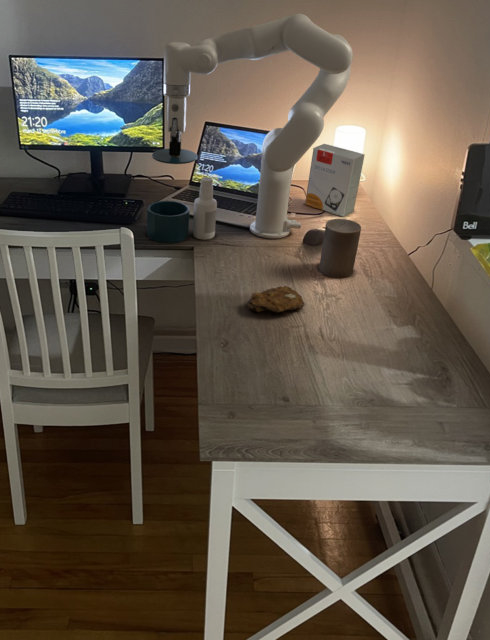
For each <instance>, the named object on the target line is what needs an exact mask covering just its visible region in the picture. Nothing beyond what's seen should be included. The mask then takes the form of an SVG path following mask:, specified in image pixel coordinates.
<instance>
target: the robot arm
mask: <svg viewBox="0 0 490 640" xmlns="http://www.w3.org/2000/svg"><path fill="white" fill-rule="evenodd" d="M287 52H292V53H293V54H295V55H296V56H298V57H299V58H301V59H303V60H305V61H306V62H308V63H310V64H312V65H314V66H315V67H316V68H318V69H319V71H318V73H317V76H316V77H315V78H314V80H313V81H312V82H311V84H310V86H308V88H307V89H306V90H305V92H304V93H303V94H302V95H301V96H300V97H299V98H298V100H297V101H296V102H295V103H294V104H293V105H292V106H291V108H290V110H289V111H288V116H287V122H286V123H285V124H284V126H283V127H276V128H273V129H271V130H270V131H268V133H266V135H265V137H264V138H263V141H262V147H261V159H260V173H259V183H258V190H257V192H258V193H257V201H256V211H255V212H256V213H255V220H254V221H253V222H251V223H250V224H249V231H250V232H251V233H252V234H253V235H255V236H257V237H260V238H263V239H281V238H285V237H287V236H289V235H290V233H291V229H295V230H296V229H297V230H301V228H302V222H298V221H297V219H290V218H288V209H289V201H290V194H291V187H292V181H293V180H292V179H293V171H294V170H293V169H294V166H295V165H296V164H297V163H298V162H299V161H300V160H301V159H302V158H303V156H304V155H305V154H306V153H307V152H308V151H309V150H310V149H311V147H312V146H313V145H314V144H315V143H316V141H318V139H319V137H320V136H321V134H322V132H323V130H324V127H325V119H324V118H325V116H326V115H327V113H328V112H329V111H330V110H331V109H332V107H333V106H334V105H335V103H336V102H337V101H338V100H339V98H340V97H341V96H342V94H343V93H344V91H345V89H346V88H347V85H348V82H349V80H350V76H351V70H352V63H353V59H354V52H353V49H352V46H351V45H350V43H349V42H348V40H347V39H346V38H345V37H344V36H342V35H340V34H337V33H330V32H328V31H326V30H325V29H323V28H322V27H320V26H318V25H317V24H316V23H314V22H313V21H312V20H311V19H310V17H308V16H307V15H305V14H303V13H295V14H291V15H288V16H284V17H280V18H277V19H274V20H271V21H268V22H263V23H260V24H257V25H252V26H249V27H245V28H241V29H238V30H233V31H230V32H229V31H228V32H225V33H222V34H219V35H218V34H217V35H215V36H211V37H208V38H206V39H203V40H200V41H199V42H198V43H197V44H196V45H193V46H191V45H190V44H189V43H188V42H183V41H182V42H181V41H171V42H167V43H166V44H165V45H164V50H163V93H162V94H163V96H164V97H165V98H167V102H166V103H167V105H166V107H167V108H166V109H167V110H166V117H167V132H168V133H169V144H168V145H169V146H168V147H169V148H168V149H169V155H170V156H180V151H181V149H182V138H181V137H182V136H181V135H182V134H184V133H185V132H186V128H187V127H186V126H187V98H188V97H190V95H191V73H192V74H198V75H209V74H211V73H213V72H214V71H215V70H216V68H217V67H218V65H220V64H223V63H227V62H232V61H235V60H250V61H256V60H257V61H258V60H263V59H265V58H269V57H271V56H275V55H279V54H283V53H287ZM179 141H180V142H179Z"/></svg>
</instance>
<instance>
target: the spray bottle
mask: <svg viewBox="0 0 490 640" xmlns="http://www.w3.org/2000/svg"><path fill="white" fill-rule="evenodd" d="M213 180H214V178H212V177H209V176H204V177H203V176H202V177H201V179H200V185H199V192H198V193H199V194H198V197H197V198H195V199H194V201H193V221H192V236H193V237H194V238H196V239H199V240H211V239H213V238H215V235H216V222H217V207H218V201H217V199H215V198H214V185H213Z"/></svg>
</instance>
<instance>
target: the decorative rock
mask: <svg viewBox="0 0 490 640" xmlns="http://www.w3.org/2000/svg"><path fill="white" fill-rule="evenodd" d="M304 304H305V302H304V300H303V296H302V295H300V294H299V293H298V292H297V291H296V290H295V289H292V287H290V286H287V285H284V286H277V287H272V288H269V289H266V290H263V291H261V292H252V293H251V297H250V301H248V303H247V304H246V306H248V309H249V310H252V311H254V312H255V313H260V312H265V311H271V312H272V313H277V314H278V313H280V312H281V313H282V312H286V311H288V310H290V311H293V310H297V311H301V310H302V309H303V307H305V306H304Z"/></svg>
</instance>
